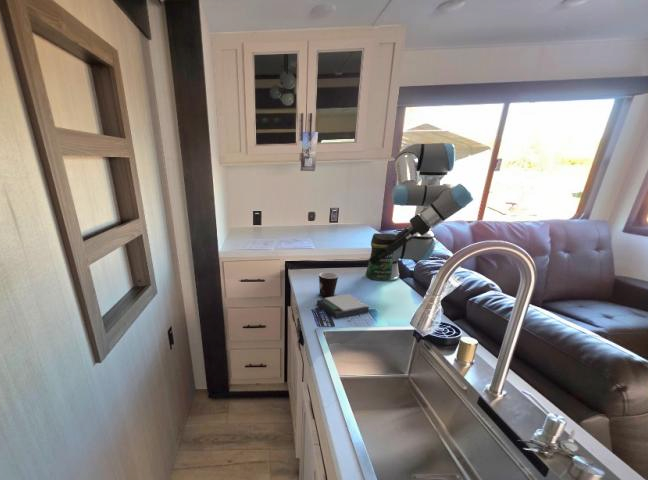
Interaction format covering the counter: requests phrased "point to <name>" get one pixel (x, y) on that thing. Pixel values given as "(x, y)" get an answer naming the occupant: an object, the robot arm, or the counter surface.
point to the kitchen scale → (342, 306)
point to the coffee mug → (327, 284)
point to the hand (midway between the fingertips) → (372, 258)
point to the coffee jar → (384, 266)
